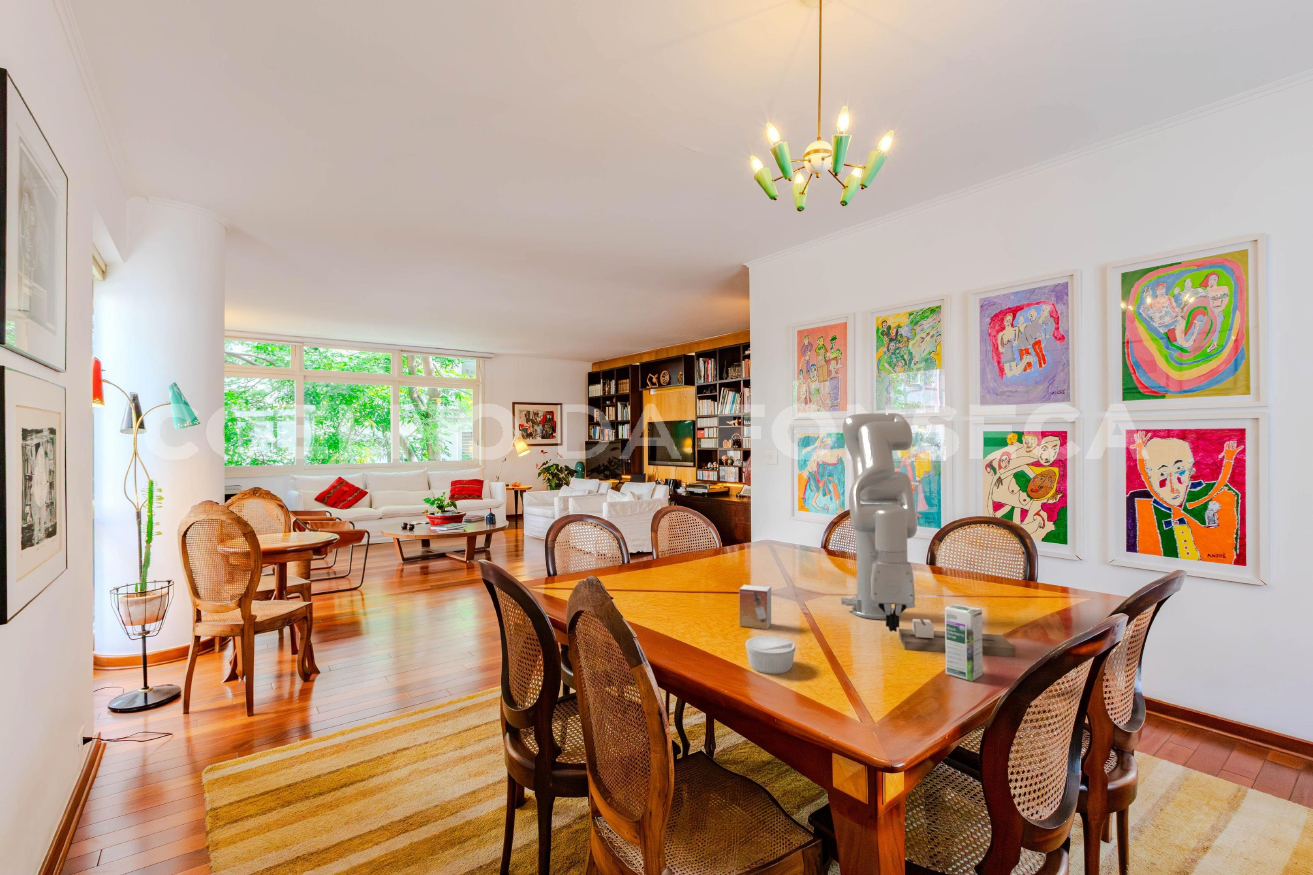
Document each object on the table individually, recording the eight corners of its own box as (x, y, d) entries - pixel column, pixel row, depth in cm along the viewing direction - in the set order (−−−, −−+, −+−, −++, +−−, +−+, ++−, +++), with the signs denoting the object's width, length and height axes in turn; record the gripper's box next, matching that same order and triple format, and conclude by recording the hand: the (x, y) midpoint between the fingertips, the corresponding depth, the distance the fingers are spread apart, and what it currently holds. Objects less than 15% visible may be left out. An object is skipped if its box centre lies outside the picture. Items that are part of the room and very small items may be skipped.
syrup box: (944, 674, 130) (943, 607, 130) (956, 667, 134) (955, 602, 134) (972, 682, 126) (970, 612, 126) (983, 674, 130) (982, 607, 130)
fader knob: (916, 636, 148) (915, 624, 148) (912, 630, 152) (912, 618, 152) (933, 638, 147) (933, 625, 147) (929, 631, 151) (929, 619, 151)
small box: (738, 626, 166) (738, 588, 166) (743, 620, 171) (743, 583, 171) (767, 629, 163) (767, 590, 163) (771, 623, 168) (771, 586, 168)
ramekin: (785, 680, 128) (785, 655, 128) (737, 670, 134) (737, 646, 134) (802, 663, 138) (802, 640, 138) (757, 654, 144) (756, 632, 144)
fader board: (904, 649, 146) (904, 640, 146) (898, 636, 156) (898, 628, 156) (1015, 656, 140) (1014, 647, 140) (1001, 642, 150) (1001, 634, 150)
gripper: (861, 558, 150) (862, 632, 149) (926, 560, 146) (927, 636, 146) (859, 553, 157) (860, 623, 157) (920, 555, 153) (922, 627, 153)
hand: (892, 629), depth 151 cm, fingers closed
